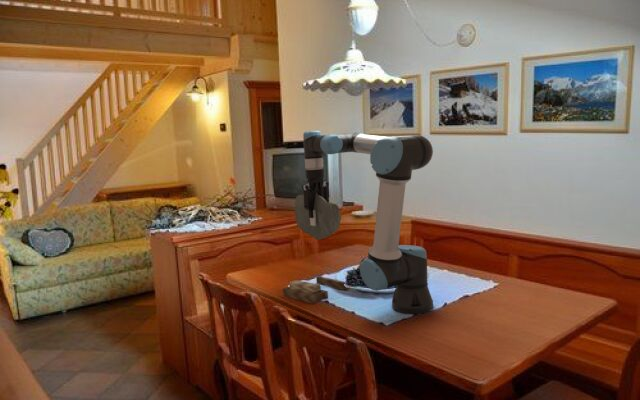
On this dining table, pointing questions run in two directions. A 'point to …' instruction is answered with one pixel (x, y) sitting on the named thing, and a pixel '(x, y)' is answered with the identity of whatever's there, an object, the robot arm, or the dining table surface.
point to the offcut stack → (305, 287)
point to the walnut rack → (318, 296)
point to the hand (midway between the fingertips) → (318, 224)
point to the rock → (318, 217)
